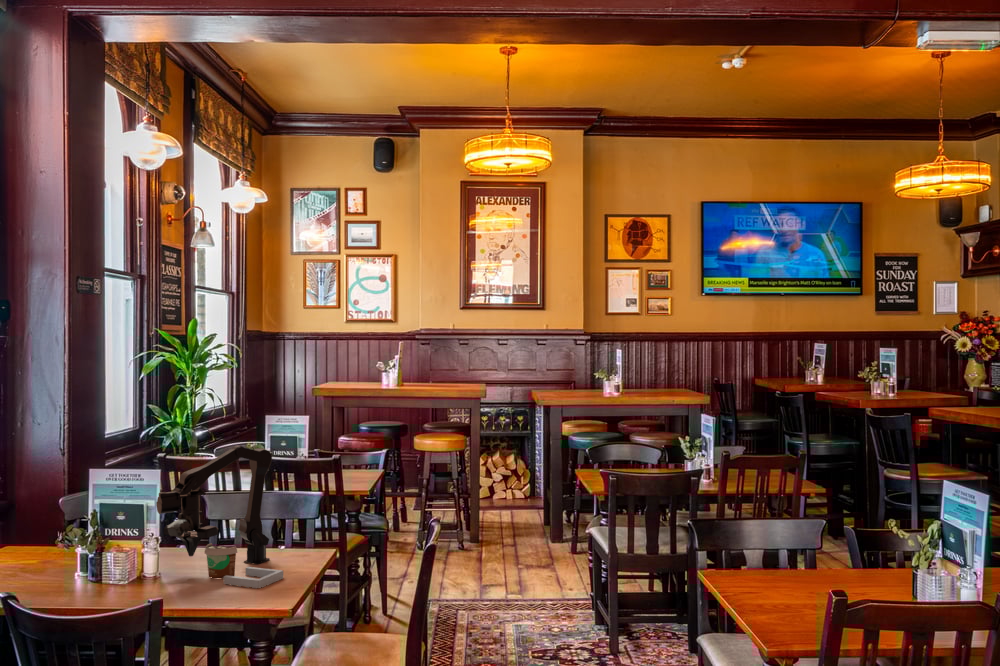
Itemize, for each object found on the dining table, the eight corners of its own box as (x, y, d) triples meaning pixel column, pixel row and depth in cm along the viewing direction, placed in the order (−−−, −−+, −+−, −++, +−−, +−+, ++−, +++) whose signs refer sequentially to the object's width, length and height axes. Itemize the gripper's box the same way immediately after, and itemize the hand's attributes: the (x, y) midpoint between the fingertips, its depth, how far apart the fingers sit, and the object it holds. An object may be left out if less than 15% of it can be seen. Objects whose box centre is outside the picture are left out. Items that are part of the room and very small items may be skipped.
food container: (196, 577, 263) (196, 546, 263) (210, 572, 269) (210, 542, 269) (223, 581, 258) (222, 550, 258) (237, 576, 263) (237, 546, 263)
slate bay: (248, 574, 266) (248, 566, 266) (283, 578, 260) (283, 570, 260) (223, 584, 255) (223, 576, 255) (259, 588, 249) (259, 580, 249)
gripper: (150, 512, 264) (151, 560, 263) (194, 516, 257) (195, 564, 256) (176, 506, 274) (176, 551, 274) (219, 509, 267) (219, 556, 267)
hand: (191, 556), depth 267 cm, fingers closed
